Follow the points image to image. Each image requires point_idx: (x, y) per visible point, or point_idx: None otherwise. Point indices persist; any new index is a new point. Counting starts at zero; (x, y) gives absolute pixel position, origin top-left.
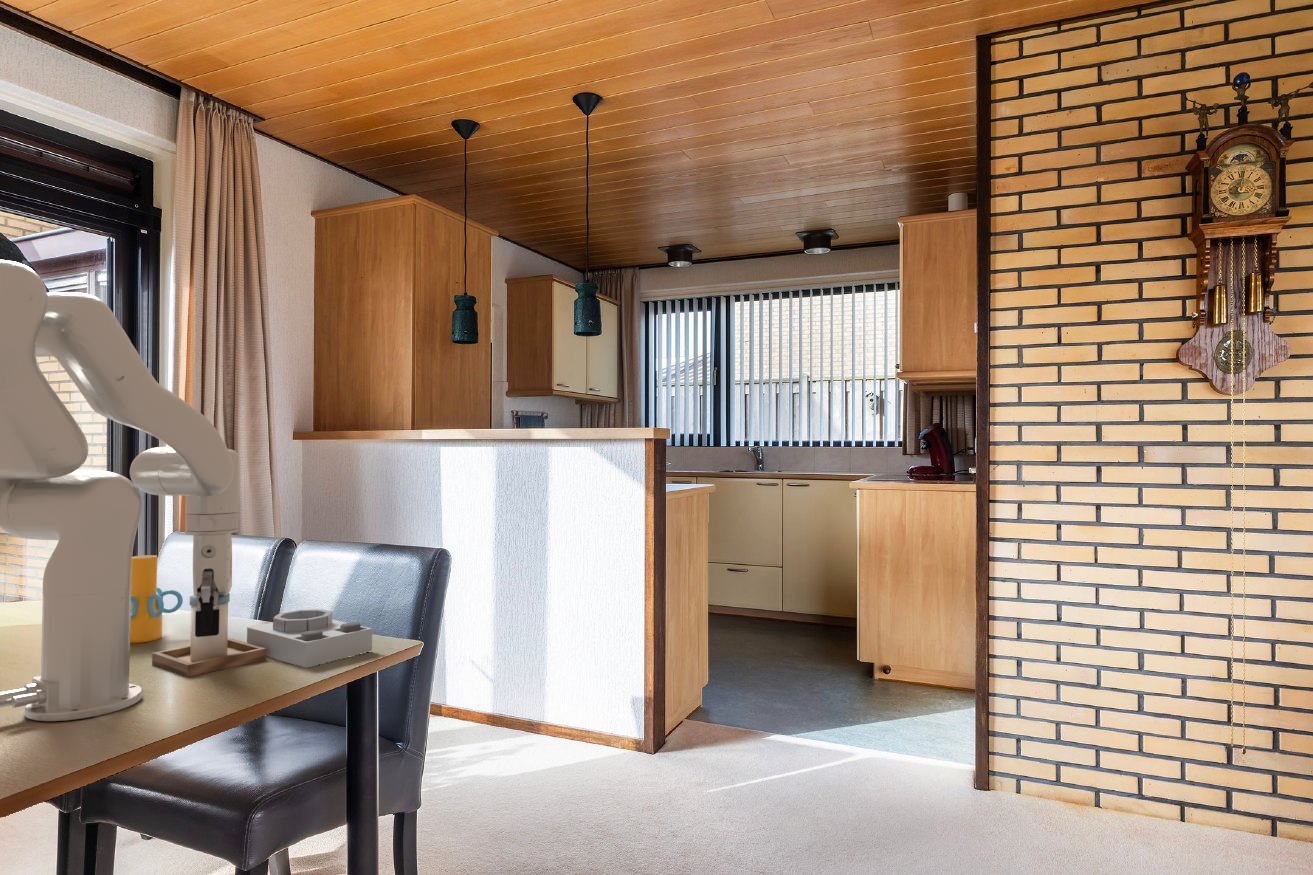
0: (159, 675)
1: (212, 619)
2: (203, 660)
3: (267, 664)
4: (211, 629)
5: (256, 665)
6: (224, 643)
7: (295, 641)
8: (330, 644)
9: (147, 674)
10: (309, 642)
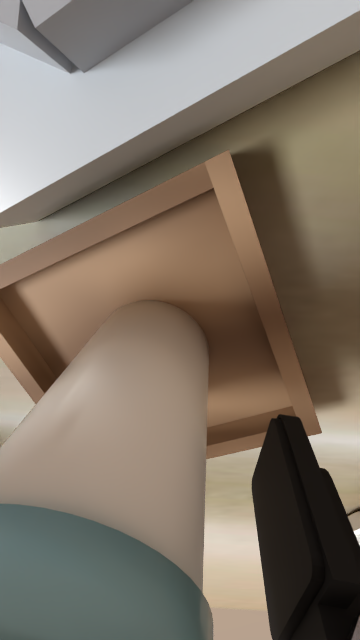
0: (238, 452)
1: (350, 532)
2: (289, 392)
3: (321, 155)
4: (324, 471)
5: (306, 203)
6: (180, 338)
7: None
8: None
9: (210, 469)
10: None
